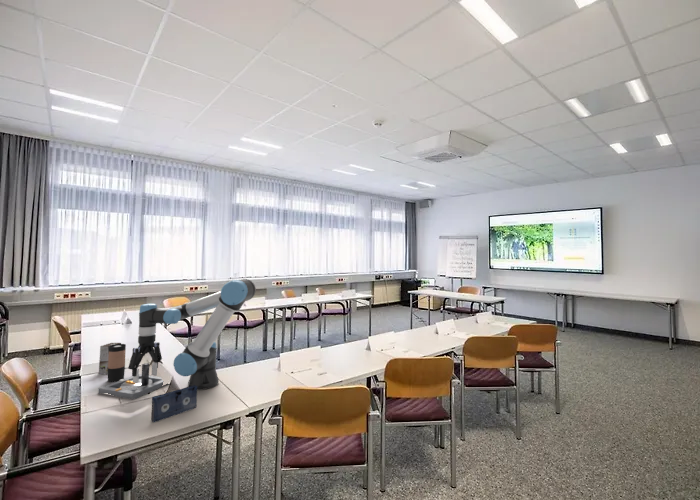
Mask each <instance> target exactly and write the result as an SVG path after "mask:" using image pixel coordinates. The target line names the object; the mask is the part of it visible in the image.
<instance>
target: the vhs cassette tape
mask: <svg viewBox="0 0 700 500" xmlns="http://www.w3.org/2000/svg"><path fill="white" fill-rule="evenodd" d="M197 401H198V390H197V386H196V385H194V386H190V387H188V386H187V387H183V388H180V389H179V388H178V389H176V390H173V391H168V392H165V393H162V394H158V395H154V396H152V397H151V412H150V413H151V416H150V419H151V420H150V421H151V422H152V423H156V422H159V421H162V420H165V419H169V418H171V417H174V416H177V415H180V414H183V413H185V412H189V411H191V410H194V409H196V408H197V407H198V406H197V405H198V404H197V403H198V402H197Z"/></svg>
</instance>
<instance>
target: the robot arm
mask: <svg viewBox="0 0 700 500" xmlns="http://www.w3.org/2000/svg"><path fill="white" fill-rule="evenodd" d="M256 291H257V289H256V285H255V284H254V282H253V281H251V280H249V279H247V278H243V279H242V278H241V279H232V280H229V281H228V282H226V283H224V285H223V286H222V287H221V290H220V291H218V292H215V293H212V294H209V295H207V296H204V297H200V298H198V299H195V300H192V301H190V302H186V303H183V304H181V305H177V306H171V307H168V308H167V307H166V308H158V305H157V303H144V304H141V305H140V306H139V313H138V323H139V324H138V336H137V337H138V338H137V343H138V347H132V354H131V358H130V361H129V365H128V368H127V369H128V370H131V376H133V382H134V383H138V380H139V374H140V369H139V366H140V364H141V363H142V360H143V358H144V356H146V354H149V356H150V358H151V360H152V363H151V376H158V369H159V363H160V362H161V360H162V359H163V357H162V352H161V347H160V345H161V344H160V342H157V341H156V332H157V331H156V330H157V324H161V325H162V324H166V325H174V324H178V323H179V321H180V320H184V319H188V318H190V317H193V316H195V315H198V314H201V313H205V312H206V311H207V312H208V311H211V310H213V309H214V310H213V312H212V313H211V315H210V317H209V318H208V319H207V321H206V322H205V324H204V325H203V327H202V328H201V330H200V331H199V333H198V334H197V335H196V337H195V339H194V340H193V341H190V342H189V343H188V344H187V345H186V347H185V348H184V349H183V350H182V352H180V353H178V354H177V355H176V356H175V357H174V360H173V368H174V371H175V372H176V373H177V374H178V375H179V376H180V377H181V376H182V377H189V379H188V381H187V382H188V383H187V387H190V386H194V385H196V386H197V391H198V390H199V391H200V390H207V389H212V388H215V387H216V386H218V385H219V379H220V378H219V376H218V373H217V367H216V366H217V349H218V348H217V343H216V340H217V339H218V337H219V336H220V334H221V333H222V332H223V330H224V328H225V327H226V325H228V322H229V320H230V319H231V318H232V316H233V314H235V312H239V311H240V310H241V308H242V307H243V306H244V304H245V303H246V302H248V301H250V300H251V299H253V298H254V297H255V295H256Z"/></svg>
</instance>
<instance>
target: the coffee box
mask: <svg viewBox="0 0 700 500" xmlns="http://www.w3.org/2000/svg"><path fill="white" fill-rule="evenodd" d="M115 344H122V342H110V343H109V342H108V343H106V344H103V345H100V346H99V348H100V349H99V360H98V361H99V362H98V363H99V364H98V374H100V375H108V356H109V346H111V345H115Z"/></svg>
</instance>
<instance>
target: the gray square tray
mask: <svg viewBox="0 0 700 500" xmlns="http://www.w3.org/2000/svg"><path fill="white" fill-rule="evenodd" d="M161 377H162V376H158V375H156V376H154V375H152V374H151V375H150V374H149V379H150V380H152V384H151V385H148V386H146V387H143V388H141V389H138V390H136V391H130V390H124V389H122V388H120V385H121V384H122V383H125V382H126V381H131V380H133V376H132V375H131V376H128V377H126V378H124V379H121V380H119V381H117V382H111V383H110V384H107V385H106V384H105V385H103V386H101V387H98V389H97V390H98V391H97V392H98V394H100V393H108V394H111V395H114V396H113V397H116V396H117V398H121V399H123V398H124V399H129V400H136V399H138V398H140V397H143V396H145V395H147V394H149V393H152V392H155V391H157V390H158V389H161V388H163V387H162V385H163V382H164V381H163V380H162V378H161ZM141 378H142V373H139V379H141ZM111 395H110V396H111Z"/></svg>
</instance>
